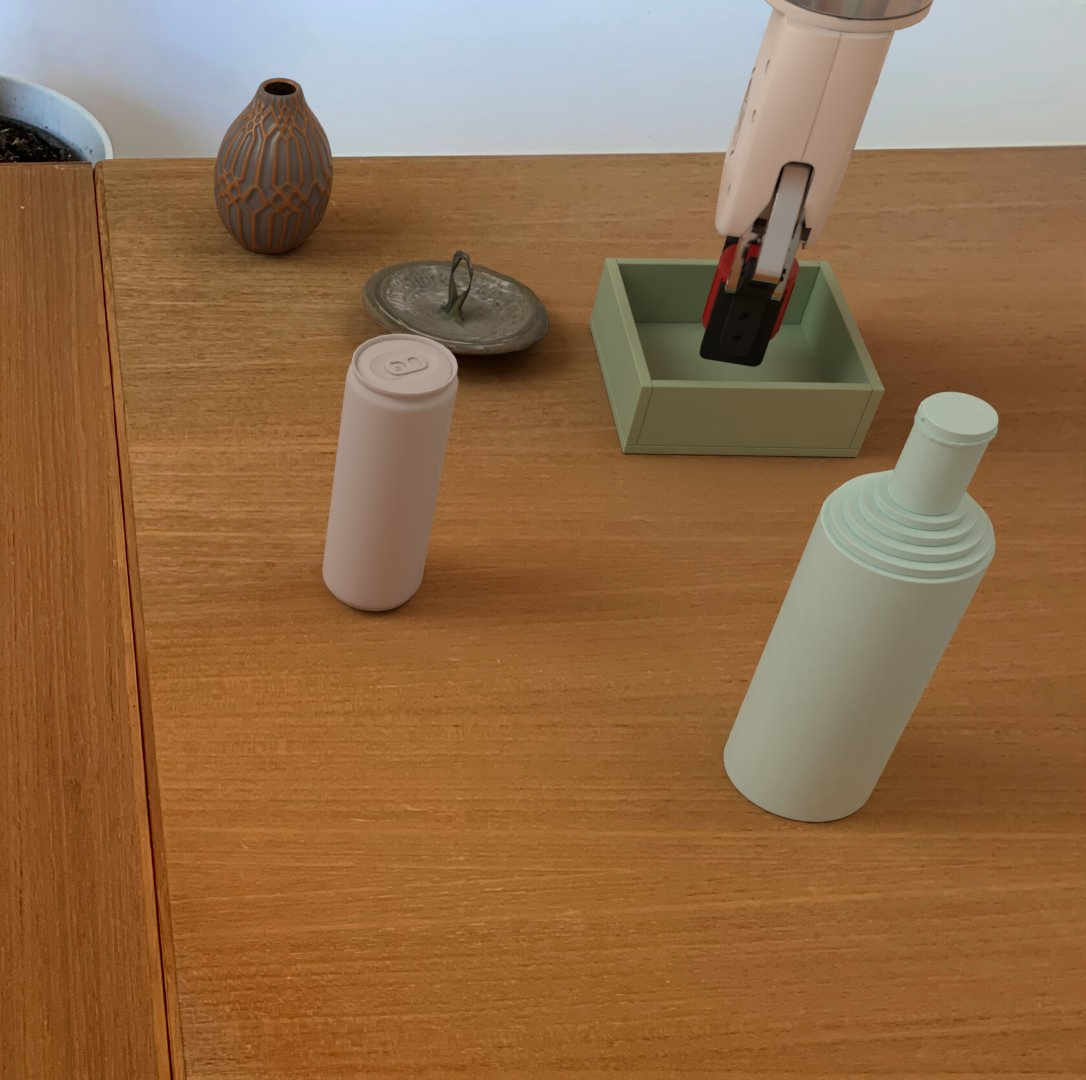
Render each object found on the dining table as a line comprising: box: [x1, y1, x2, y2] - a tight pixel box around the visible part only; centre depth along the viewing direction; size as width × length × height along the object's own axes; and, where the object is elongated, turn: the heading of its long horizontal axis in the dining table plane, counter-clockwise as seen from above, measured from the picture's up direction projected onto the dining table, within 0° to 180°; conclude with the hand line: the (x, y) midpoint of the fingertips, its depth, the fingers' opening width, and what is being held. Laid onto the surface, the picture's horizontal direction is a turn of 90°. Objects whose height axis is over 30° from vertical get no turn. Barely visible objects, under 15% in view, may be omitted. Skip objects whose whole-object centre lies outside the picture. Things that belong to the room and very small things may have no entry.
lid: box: [361, 249, 551, 356], centre depth 94 cm, size 11×10×5 cm
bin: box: [589, 257, 886, 458], centre depth 90 cm, size 12×12×4 cm
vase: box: [213, 77, 334, 254], centre depth 98 cm, size 7×7×9 cm
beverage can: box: [321, 333, 459, 612], centre depth 77 cm, size 5×5×12 cm
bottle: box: [722, 391, 999, 823], centre depth 67 cm, size 6×6×18 cm
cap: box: [702, 244, 799, 340], centre depth 88 cm, size 4×4×4 cm
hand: (733, 333), depth 89 cm, fingers closed on cap, 3 cm apart
